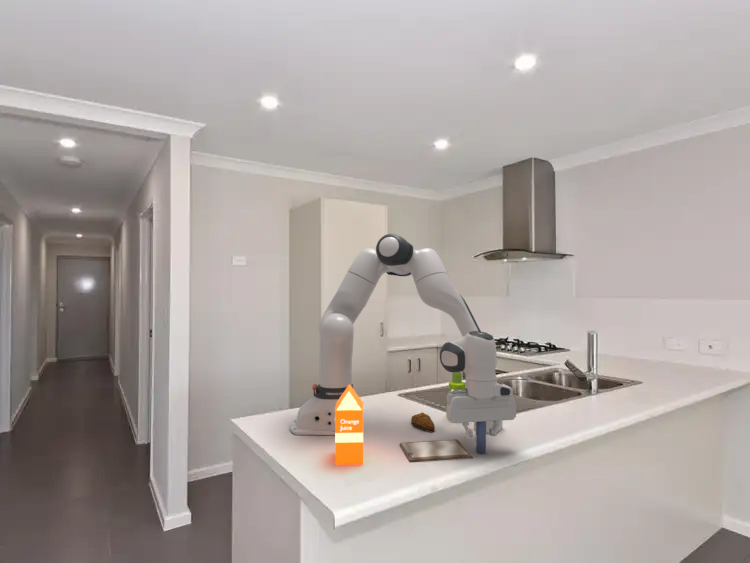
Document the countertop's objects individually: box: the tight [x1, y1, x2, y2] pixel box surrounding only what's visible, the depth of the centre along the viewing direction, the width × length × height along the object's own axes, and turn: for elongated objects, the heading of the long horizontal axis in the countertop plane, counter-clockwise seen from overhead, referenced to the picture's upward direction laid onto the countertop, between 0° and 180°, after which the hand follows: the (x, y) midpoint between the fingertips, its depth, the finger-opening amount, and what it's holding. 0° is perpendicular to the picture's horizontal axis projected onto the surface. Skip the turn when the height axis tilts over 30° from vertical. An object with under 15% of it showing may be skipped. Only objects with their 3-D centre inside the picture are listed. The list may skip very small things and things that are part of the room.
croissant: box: [410, 412, 436, 433], centre depth 149 cm, size 14×7×5 cm, turn 24°
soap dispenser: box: [448, 372, 465, 392], centre depth 156 cm, size 6×7×20 cm
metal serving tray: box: [399, 438, 474, 463], centre depth 127 cm, size 18×13×2 cm
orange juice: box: [334, 384, 364, 466], centre depth 122 cm, size 8×9×20 cm
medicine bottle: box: [473, 420, 504, 434], centre depth 145 cm, size 7×7×12 cm
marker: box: [475, 421, 487, 455], centre depth 126 cm, size 3×3×12 cm
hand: (481, 436), depth 126 cm, fingers open, 6 cm apart
